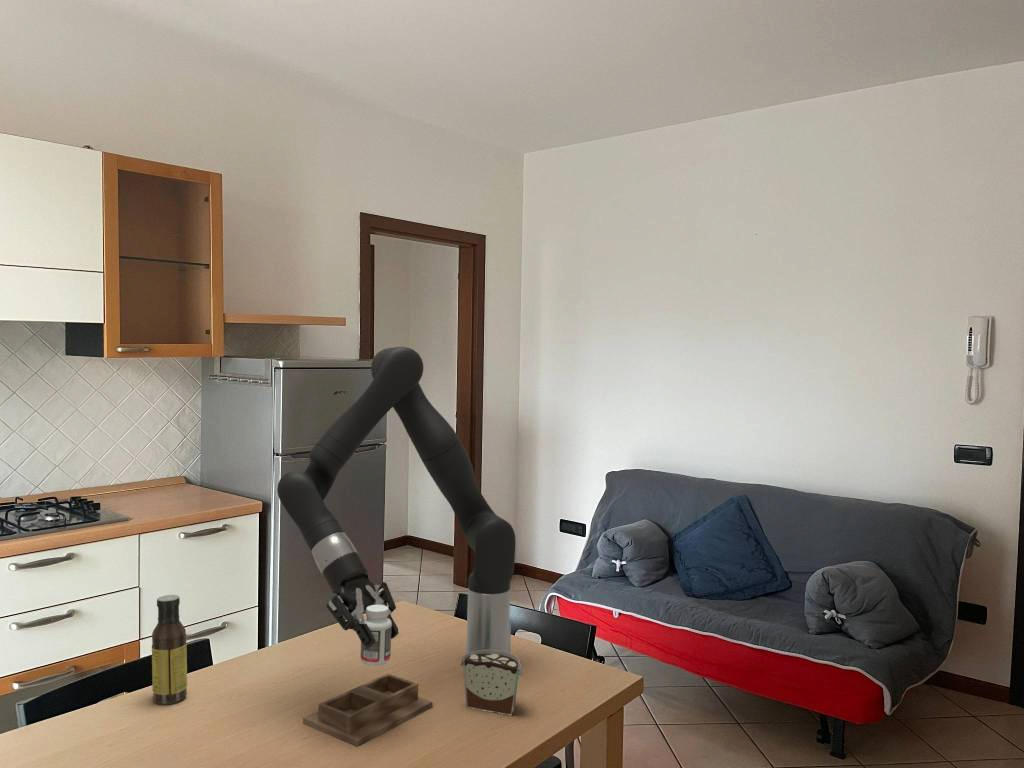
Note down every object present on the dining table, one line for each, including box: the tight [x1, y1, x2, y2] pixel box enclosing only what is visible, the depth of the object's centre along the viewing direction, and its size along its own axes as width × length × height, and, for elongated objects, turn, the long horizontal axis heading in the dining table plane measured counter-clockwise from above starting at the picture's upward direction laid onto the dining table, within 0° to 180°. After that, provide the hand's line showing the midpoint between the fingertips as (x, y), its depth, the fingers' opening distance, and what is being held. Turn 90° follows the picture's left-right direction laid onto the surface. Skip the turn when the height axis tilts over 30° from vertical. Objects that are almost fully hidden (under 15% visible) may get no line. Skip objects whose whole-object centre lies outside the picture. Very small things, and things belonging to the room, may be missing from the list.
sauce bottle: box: [151, 594, 188, 706], centre depth 155 cm, size 6×6×20 cm
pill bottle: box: [360, 604, 392, 667], centre depth 146 cm, size 5×5×10 cm
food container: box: [460, 650, 523, 716], centre depth 157 cm, size 12×6×10 cm, turn 71°
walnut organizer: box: [302, 673, 434, 747], centre depth 151 cm, size 20×14×4 cm
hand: (383, 640), depth 145 cm, fingers closed on pill bottle, 5 cm apart
